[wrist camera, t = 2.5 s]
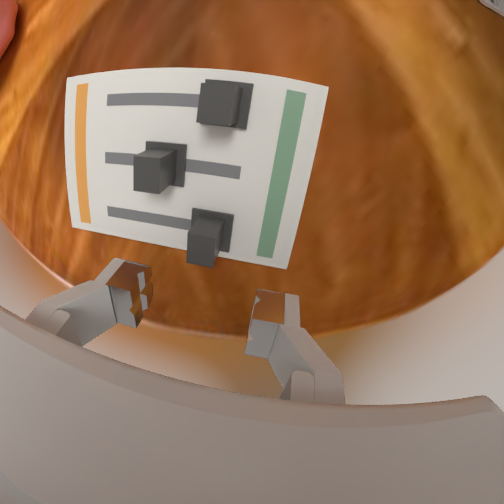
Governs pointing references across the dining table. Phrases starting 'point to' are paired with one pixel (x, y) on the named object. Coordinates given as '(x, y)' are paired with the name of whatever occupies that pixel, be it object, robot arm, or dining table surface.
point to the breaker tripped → (159, 167)
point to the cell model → (7, 23)
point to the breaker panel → (192, 157)
